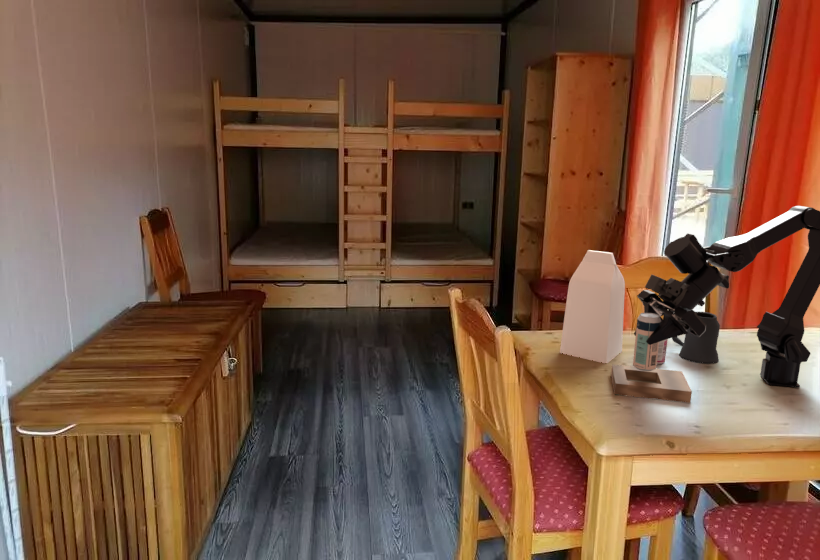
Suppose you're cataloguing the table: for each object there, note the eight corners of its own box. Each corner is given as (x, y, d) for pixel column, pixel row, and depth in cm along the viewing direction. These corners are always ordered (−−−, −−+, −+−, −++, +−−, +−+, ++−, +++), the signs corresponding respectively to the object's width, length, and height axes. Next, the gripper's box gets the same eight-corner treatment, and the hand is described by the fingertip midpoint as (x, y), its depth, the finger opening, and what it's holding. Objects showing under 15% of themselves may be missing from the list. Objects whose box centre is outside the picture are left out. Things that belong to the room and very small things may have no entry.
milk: (559, 353, 157) (567, 251, 152) (577, 341, 166) (585, 246, 161) (606, 363, 150) (616, 258, 145) (621, 351, 160) (632, 251, 154)
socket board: (680, 381, 140) (682, 371, 139) (690, 403, 128) (691, 391, 128) (610, 374, 143) (611, 364, 143) (614, 394, 132) (615, 383, 131)
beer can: (655, 365, 137) (661, 313, 134) (656, 373, 132) (662, 319, 130) (632, 363, 138) (637, 311, 136) (632, 370, 134) (637, 316, 131)
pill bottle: (666, 365, 150) (670, 331, 148) (645, 363, 151) (649, 330, 149) (662, 358, 155) (666, 326, 153) (642, 356, 156) (646, 324, 154)
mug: (724, 358, 156) (730, 315, 153) (709, 366, 150) (715, 322, 148) (678, 346, 165) (682, 305, 162) (661, 353, 159) (666, 311, 156)
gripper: (649, 254, 140) (599, 303, 140) (699, 271, 122) (641, 327, 122) (677, 287, 143) (628, 335, 143) (730, 309, 125) (674, 363, 125)
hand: (641, 339), depth 134 cm, fingers closed on beer can, 5 cm apart
